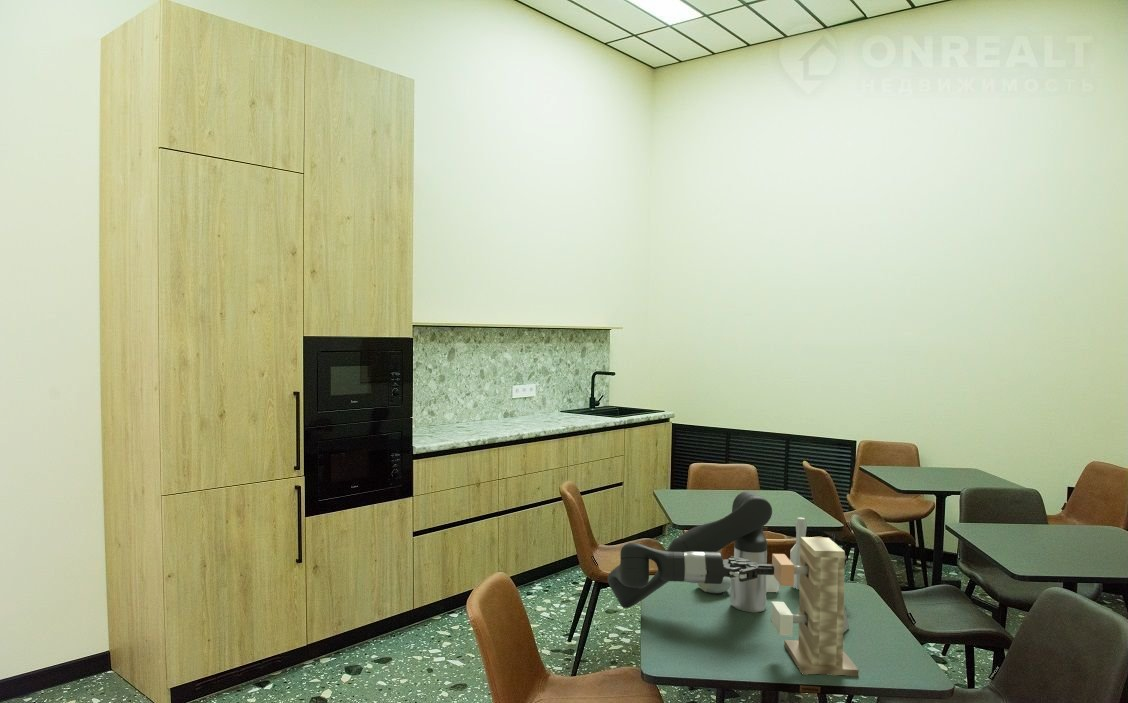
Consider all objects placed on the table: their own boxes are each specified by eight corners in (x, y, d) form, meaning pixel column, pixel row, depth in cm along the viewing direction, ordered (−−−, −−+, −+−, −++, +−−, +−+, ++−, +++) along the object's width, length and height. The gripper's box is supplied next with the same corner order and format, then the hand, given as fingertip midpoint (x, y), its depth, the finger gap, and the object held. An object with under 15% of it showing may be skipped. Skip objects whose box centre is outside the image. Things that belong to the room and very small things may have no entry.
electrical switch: (838, 639, 191) (835, 603, 192) (818, 635, 195) (816, 600, 195) (850, 628, 199) (847, 594, 199) (830, 625, 202) (828, 591, 202)
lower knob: (803, 622, 183) (804, 602, 183) (814, 636, 174) (814, 615, 174) (771, 621, 183) (771, 601, 183) (779, 635, 174) (780, 614, 174)
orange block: (804, 574, 183) (805, 554, 183) (815, 586, 174) (815, 565, 174) (771, 573, 183) (772, 553, 183) (780, 585, 174) (781, 564, 174)
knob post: (836, 647, 186) (838, 535, 186) (858, 676, 170) (860, 554, 170) (784, 645, 187) (786, 534, 186) (801, 674, 171) (804, 552, 170)
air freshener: (693, 586, 231) (693, 554, 231) (716, 583, 234) (717, 552, 234) (710, 597, 221) (711, 565, 221) (734, 595, 224) (735, 562, 223)
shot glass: (768, 594, 224) (768, 572, 224) (753, 588, 230) (753, 565, 230) (785, 591, 227) (785, 569, 227) (769, 584, 234) (769, 563, 233)
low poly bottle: (786, 584, 234) (787, 515, 234) (805, 583, 235) (806, 515, 235) (794, 591, 228) (795, 520, 228) (813, 590, 229) (815, 520, 228)
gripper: (698, 573, 186) (766, 576, 185) (705, 591, 173) (779, 594, 172) (698, 544, 186) (767, 546, 185) (706, 560, 172) (780, 562, 172)
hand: (773, 569), depth 178 cm, fingers closed
